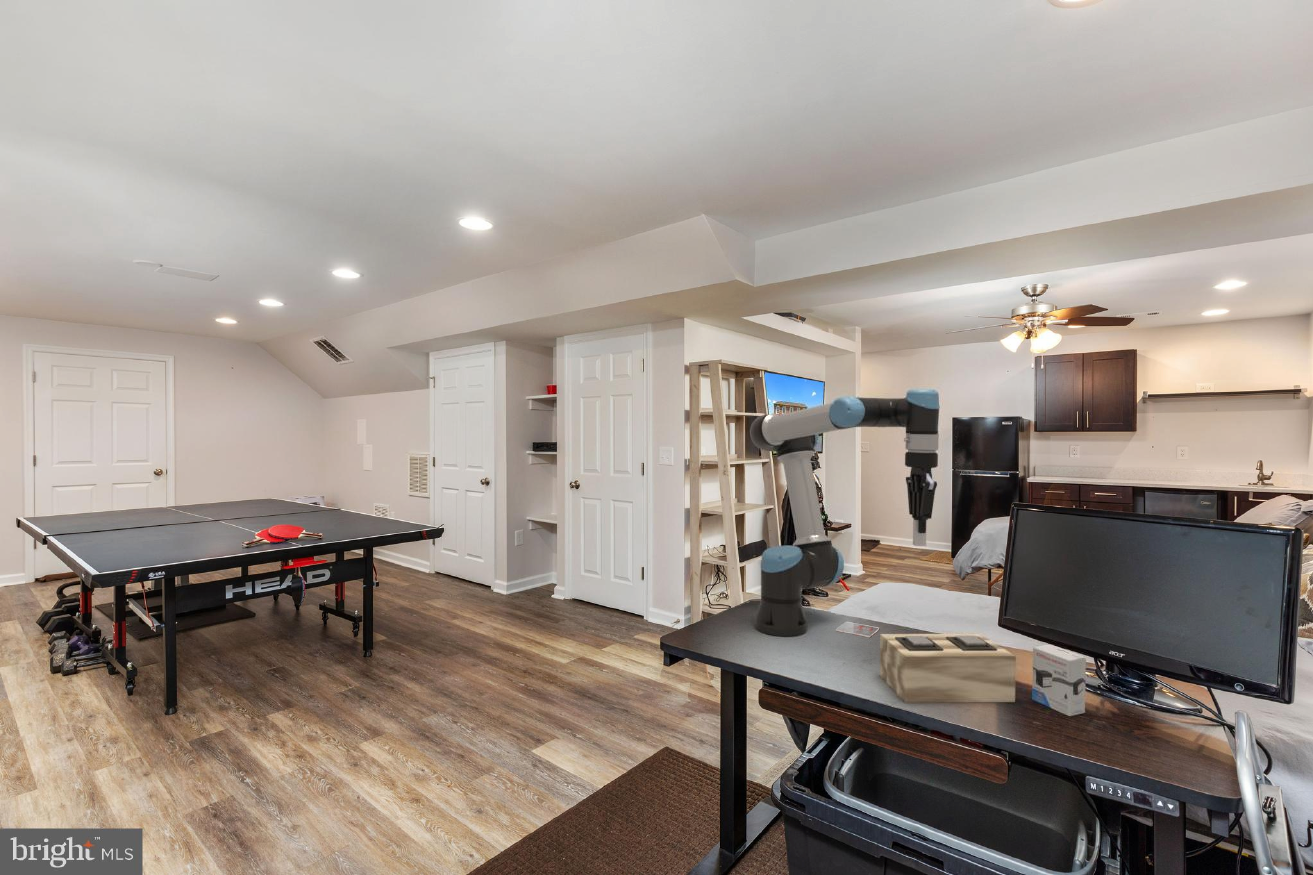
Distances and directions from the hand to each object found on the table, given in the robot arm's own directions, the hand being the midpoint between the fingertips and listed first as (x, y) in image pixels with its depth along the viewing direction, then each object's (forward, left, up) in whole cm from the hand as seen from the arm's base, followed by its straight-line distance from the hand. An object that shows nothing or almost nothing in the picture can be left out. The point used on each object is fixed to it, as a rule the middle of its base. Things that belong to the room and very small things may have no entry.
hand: (919, 545), depth 152 cm
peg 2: (+15, +5, -28) cm, 32 cm away
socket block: (+15, -1, -30) cm, 33 cm away
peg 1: (+15, -7, -28) cm, 32 cm away
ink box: (+24, +19, -30) cm, 43 cm away
